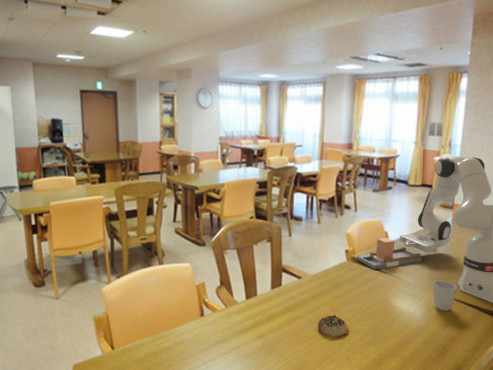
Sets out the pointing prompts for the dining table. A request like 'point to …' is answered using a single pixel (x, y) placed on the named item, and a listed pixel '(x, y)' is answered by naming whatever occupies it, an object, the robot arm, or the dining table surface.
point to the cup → (444, 294)
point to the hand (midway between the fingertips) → (405, 244)
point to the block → (384, 248)
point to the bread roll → (333, 326)
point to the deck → (390, 259)
